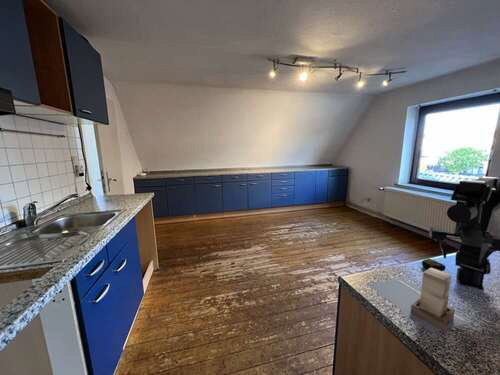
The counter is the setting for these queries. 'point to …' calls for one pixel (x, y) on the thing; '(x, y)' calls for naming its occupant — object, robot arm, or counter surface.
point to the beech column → (435, 291)
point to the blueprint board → (412, 301)
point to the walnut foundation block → (432, 315)
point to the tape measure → (433, 265)
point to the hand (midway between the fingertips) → (462, 261)
